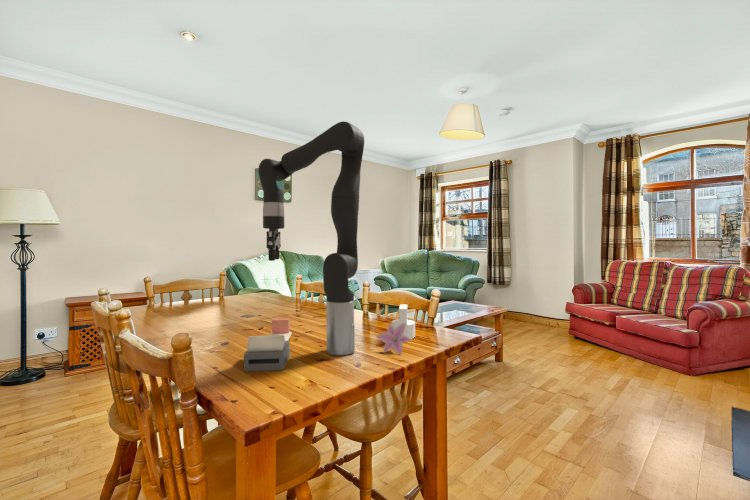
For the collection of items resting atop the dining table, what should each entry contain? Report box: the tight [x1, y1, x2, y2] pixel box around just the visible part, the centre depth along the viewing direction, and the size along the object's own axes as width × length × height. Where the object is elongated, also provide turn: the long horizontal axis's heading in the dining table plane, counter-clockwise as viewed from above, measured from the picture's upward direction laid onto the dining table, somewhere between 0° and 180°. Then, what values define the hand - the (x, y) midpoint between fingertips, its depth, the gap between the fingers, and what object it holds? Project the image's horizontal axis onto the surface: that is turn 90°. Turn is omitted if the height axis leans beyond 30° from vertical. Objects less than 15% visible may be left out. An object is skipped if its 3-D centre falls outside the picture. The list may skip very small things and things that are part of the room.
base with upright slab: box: [391, 303, 416, 339], centre depth 135 cm, size 9×9×12 cm
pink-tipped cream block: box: [268, 318, 293, 341], centre depth 122 cm, size 8×20×6 cm, turn 6°
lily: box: [375, 323, 412, 355], centre depth 120 cm, size 11×11×9 cm
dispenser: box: [243, 334, 291, 372], centre depth 108 cm, size 11×14×9 cm
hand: (274, 259), depth 129 cm, fingers open, 8 cm apart
